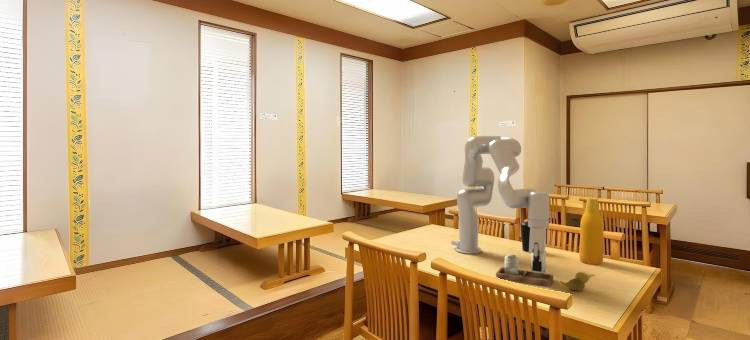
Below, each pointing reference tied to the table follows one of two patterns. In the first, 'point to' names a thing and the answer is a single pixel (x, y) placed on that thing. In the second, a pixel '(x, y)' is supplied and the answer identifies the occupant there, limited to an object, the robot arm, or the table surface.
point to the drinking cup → (525, 235)
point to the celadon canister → (543, 259)
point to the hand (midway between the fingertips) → (538, 268)
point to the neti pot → (577, 281)
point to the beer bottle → (591, 234)
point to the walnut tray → (522, 273)
